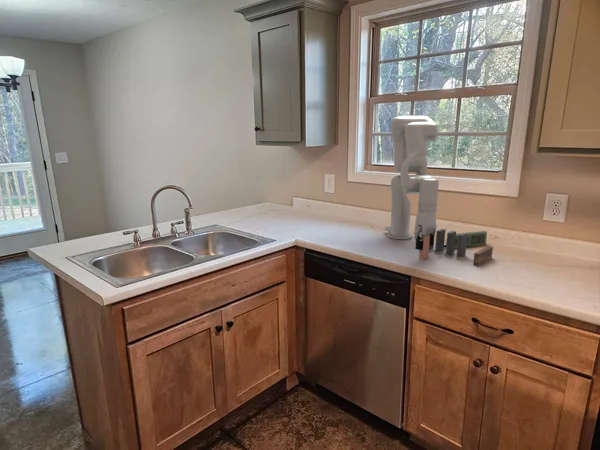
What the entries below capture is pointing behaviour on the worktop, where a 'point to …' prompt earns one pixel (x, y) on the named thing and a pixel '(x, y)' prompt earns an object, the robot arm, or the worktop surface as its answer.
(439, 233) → the domino
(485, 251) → the bar
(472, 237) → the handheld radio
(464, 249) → the domino
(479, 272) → the worktop surface
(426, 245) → the domino
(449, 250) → the domino
